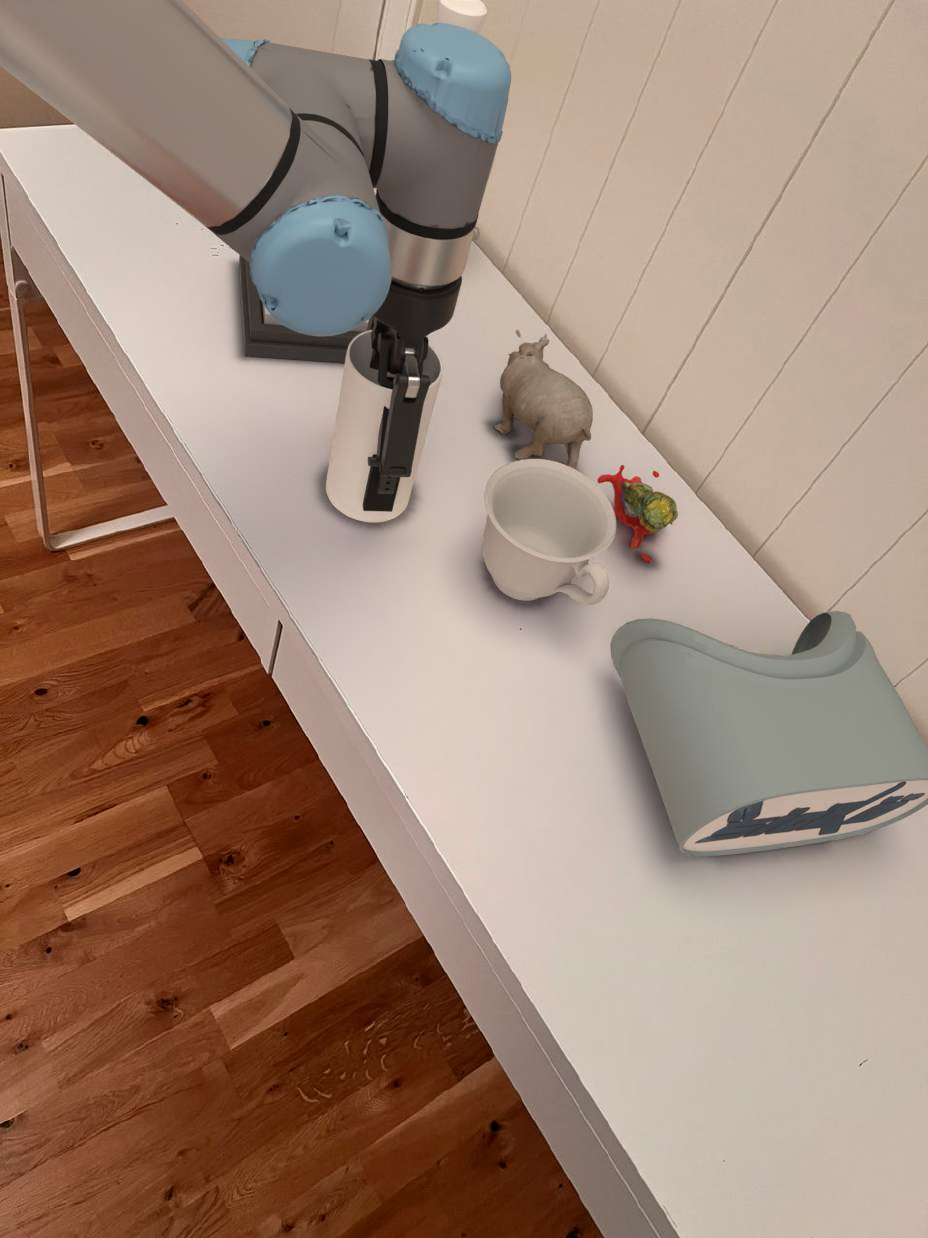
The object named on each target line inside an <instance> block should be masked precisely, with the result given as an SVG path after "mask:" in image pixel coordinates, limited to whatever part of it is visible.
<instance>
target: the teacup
mask: <svg viewBox="0 0 928 1238" xmlns="http://www.w3.org/2000/svg"><path fill="white" fill-rule="evenodd" d="M484 506H485V510H486V513H487V517H486V522H485V527H484V531H483V537H482V557H483V560H484V564H485V566H486V568H487V571H488V572H489V574H490V575H491V579H492V580H493V583H494V585H495V586H496V588H498V590H499V591H501V592H502V593H503V594H505V596H508V597H510V598H511V599H514V600H518V601H523V602H529V601H530V602H531V601H534V600H537V599H540V598H544V597H551V596H553V595H555V594H556V593H564V594H566V595H568V596H569V597H570V598H571V599H572V600H574V601H575V602H576V603H578V604H581V605H584V606H593V605H595V604H598V603H600V602H601V601H602V600H604V599H605V598H606V596H607V594H608V592H609V589H610V578H609V577H610V576H609V575H608V572H607V570H606V569H605V567H603V566H602V565H601V564H600V563H599V562H590V563H589V560H591V559H594V558H596V557H598V556H599V555H601V554H602V553H604V552H605V551H606V550H607V549H608V548H609V547H610V546H611V544H612V543H613V541H614V539H615V536H616V532H617V518H616V517H615V513H614V506H613V504H612V503H611V501H610V499H609V498H608V496H607V495H606V493H605V492H604V491H603V490H602V488H600V486H599V485H598V484H597V483H596V482H594V481H593V480H592V479H591V478H590V477H588V476H587V475H585V474H584V473H582V472H580V471H579V470H577V469H573V468H571V467H569V466H567V464H563V463H561V462H558V461H555V460H554V461H553V460H550V459H543V458H531V459H526V460H519V459H518V460H515V461H511V462H508V463H506V464H504V465H502V466H501V467H499V468H497V469H496V470H495V471H494V472H493V473H492V474H491V476H489V478H488V480H487V483H486V484H485V489H484ZM586 575H588V576H589V577H590V578H591V581H592V583H593V592H591V593H590V592H588V591H587V590H585V589H584V588H582V586H578V585H577V584H575V583H574V584H573V583H572V582H573V581H574V580H575V579H576V578H577V577H584V576H586Z"/></svg>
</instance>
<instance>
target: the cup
mask: <svg viewBox="0 0 928 1238" xmlns="http://www.w3.org/2000/svg"><path fill="white" fill-rule="evenodd" d="M371 332H372V330H369V331H365V332H363V333H361V334H359V335H357V336H356V337H355V338H354V339H353V340H352V341H351V342H350V344H349V346H348V349H347V353H346V359H345V363H344V367H343V373H342V377H341V378H342V379H341V385H340V391H339V396H338V397H339V398H338V405H337V411H336V417H335V424H334V429H333V436H332V443H331V449H330V455H329V462H328V467H327V474H326V481H325V491H326V496H327V498H328V500H329V502H330V503H331V504H332V505H333V507H334V508H335V509H336V510H338V511H339V512H340V513H342V514H343V515H345V516H346V517H349V518H351V519H353V520H356V521H359V522H363V523H384V522H388V521H391V520H394V519H396V518H397V517H399V516H400V515H402V514H403V513H404V511H406V509H407V507H408V505H409V502H410V498H411V494H412V490H413V487H414V482H415V479H416V476H417V472H418V469H419V464H420V460H421V457H422V453H423V450H424V445H425V442H426V439H427V434H428V430H429V426H430V423H431V419H432V416H433V412H434V408H435V404H436V400H437V396H438V394H439V393H438V392H439V389H440V386H441V382H442V377H443V373H444V365H443V361H442V359H441V356H440V355H439V354H438V352H437V351H436V350H435V348H434V347H433V346H432V345H431V344H430V343H428V353H427V358H426V359H425V360H424V362H423V371H422V375H428V376H429V380H430V386H429V389H428V392H427V395H426V398H425V401H424V405H423V410H422V415H421V421H420V426H419V432H418V437H417V443H416V448H415V453H414V459H413V464H412V473H411V475H410V477H400V481H399V485H398V490H397V494H396V498H395V502H394V506H393V510H392V512H385V511H363V500H364V495H365V490H366V485H367V480H368V476H369V471H370V466H368V457H372V456H373V454H377V446H378V435H379V428H380V423H381V419H382V414H383V409H384V406H385V407H387V408H388V409H389V408H390V401H391V395H392V389H388V388H385V387H382V386H380V384H379V383H378V370H375V369H372V368H370V361H371V356H372V350H373V349H372V345H371ZM387 377H396V375H395V374H391V373H389V372H387Z"/></svg>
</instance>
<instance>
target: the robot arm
mask: <svg viewBox="0 0 928 1238" xmlns="http://www.w3.org/2000/svg"><path fill="white" fill-rule="evenodd" d="M0 67H1V68H3V69H4V70H5V71H6V72H8V73H9V74H10V75H11V76H13V77H14V78H15V79H17V80H18V81H19V82H20V83H21V84H23V86H25V87H27V88H28V89H29V90H31V91H32V92H33V93H34V94H35V95H37V96H38V97H40V99H42V100H43V101H44V102H46V103H47V104H48V105H50V106H51V107H52V108H53V109H55V110H56V111H57V112H58V113H60V114H61V115H62V116H64V117H65V118H66V119H67V120H69V121H70V122H71V123H72V124H74V125H75V126H76V127H77V128H78V129H80V130H82V131H83V132H84V133H86V134H87V135H88V136H89V137H90V138H92V139H93V140H94V141H96V142H97V143H98V144H99V145H100V146H102V147H103V148H105V149H106V150H107V151H108V152H109V153H111V154H112V155H113V156H114V157H116V158H117V159H118V160H120V161H121V162H122V163H123V164H125V165H126V166H127V167H129V168H130V169H131V170H133V171H134V172H135V173H136V174H137V175H139V176H140V177H142V178H143V179H144V180H145V181H147V183H149V184H150V185H152V186H153V187H154V188H156V189H157V190H158V191H160V192H161V193H162V194H163V195H164V196H166V197H167V198H168V199H169V200H170V201H172V202H173V203H174V204H176V205H177V206H178V207H180V208H181V209H183V210H184V211H185V212H186V213H187V214H189V216H191V217H192V218H193V219H195V220H196V221H197V222H199V223H200V224H202V225H203V226H204V227H205V228H206V229H208V230H209V231H210V232H211V233H212V234H213V235H214V236H216V237H217V238H218V239H219V240H221V242H223V243H224V244H225V245H227V246H228V247H229V248H231V249H232V250H233V251H234V252H235V253H236V254H238V255H241V256H242V257H243V258H244V259H246V260H247V261H248V262H249V263H250V265H249V266H250V275H251V279H252V282H253V283H254V285H255V287H256V288H257V290H258V293H259V297H260V299H261V301H262V303H263V304H264V306H265V307H266V309H267V310H268V312H269V313H270V314H271V316H272V317H273V318H275V319H276V320H277V321H278V322H279V323H281V324H282V325H283V326H285V327H287V328H289V329H291V330H293V331H296V332H299V333H302V334H306V335H311V336H334V335H338V334H342V333H345V332H348V331H351V330H353V329H355V328H357V327H359V326H360V325H362V324H363V323H364V322H366V321H367V320H369V322H368V326H367V330H366V331H369V330H372V332H371V345H372V349H373V350H372V356H371V361H370V368H372V369H375V370H378V383H379V384H380V386H382V387H385V388H388V389H392V395H391V401H390V408H389V409H388V408H387V407H385V406H384V409H383V414H382V419H381V423H380V428H379V435H378V446H377V454H373V456H372V457H368V466H370V471H369V476H368V480H367V485H366V490H365V495H364V500H363V511H385V512H392V510H393V506H394V502H395V498H396V494H397V490H398V485H399V481H400V477H410V475H411V473H412V464H413V459H414V453H415V448H416V443H417V437H418V432H419V426H420V421H421V415H422V410H423V405H424V401H425V398H426V395H427V392H428V389H429V386H430V380H429V376H428V375H422V371H423V362H424V360H425V359H426V358H427V353H428V344H429V337H428V335H430V334H432V333H434V332H437V331H438V330H441V329H443V328H444V327H446V326H447V325H448V324H449V323H450V322H451V320H453V319H452V318H453V316H454V314H455V310H456V307H457V303H458V298H459V296H460V295H459V294H460V290H461V287H462V282H463V273H464V271H465V269H466V265H467V261H468V257H469V254H470V248H471V245H472V241H478V240H479V238H480V236H481V232H480V228H479V227H477V223H478V218H479V213H480V210H481V207H482V202H483V199H484V196H485V192H486V188H487V185H488V182H487V181H489V179H490V177H489V174H490V171H491V167H492V164H493V160H494V157H495V158H496V155H495V153H496V154H497V149H498V146H499V143H500V142H501V140H502V136H503V128H504V122H505V117H506V112H507V107H508V103H509V96H510V91H511V83H512V71H511V65H510V64H509V62H508V61H507V59H506V56H505V54H504V52H503V51H502V49H500V48H499V46H497V45H496V44H495V43H493V42H492V41H491V40H489V38H487V37H485V36H483V35H481V33H480V34H478V33H476V32H473V31H471V30H469V29H466V28H463V27H459V26H456V25H452V24H446V23H437V21H435V22H434V23H432V24H428V23H423V22H422V23H417V24H414V25H412V26H410V27H409V28H408V29H406V30H405V32H404V33H403V35H402V36H401V39H400V42H399V47H398V49H396V51H395V53H394V59H391V60H390V59H385V58H384V59H383V58H378V59H377V60H376V59H371V58H362V57H358V56H357V57H356V56H351V55H346V54H345V55H344V54H338V53H332V52H327V51H323V50H315V49H309V48H303V47H297V46H292V45H286V44H280V43H273V42H271V41H270V40H269V39H265V38H259V39H257V40H253V39H250V40H249V39H241V38H229V37H228V38H227V37H220V36H219V35H218V34H217V33H216V32H215V31H213V29H212V28H210V26H209V25H208V24H207V23H206V22H205V21H203V19H202V18H201V17H199V15H198V14H196V12H195V11H194V10H192V9H191V8H190V6H188V5H187V4H186V3H185V1H183V0H0ZM494 161H495V160H494ZM493 165H494V164H493ZM491 172H492V171H491ZM490 175H491V174H490ZM488 178H489V179H488ZM375 188H377V191H376V190H374V189H375ZM375 192H376V193H375ZM387 372H389V373H391V374H395V375H396V377H387Z"/></svg>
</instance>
